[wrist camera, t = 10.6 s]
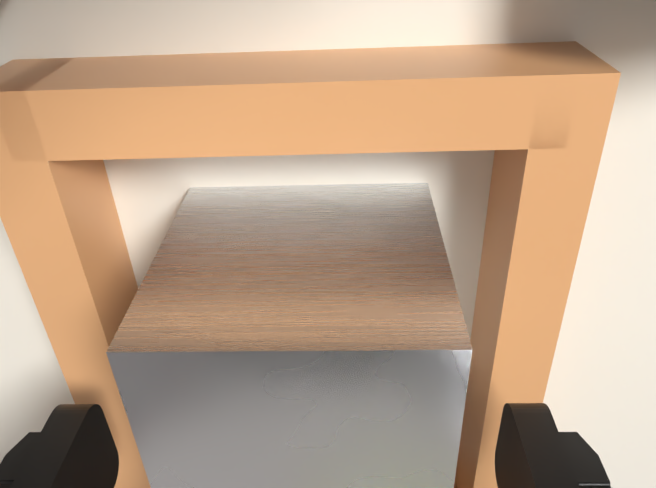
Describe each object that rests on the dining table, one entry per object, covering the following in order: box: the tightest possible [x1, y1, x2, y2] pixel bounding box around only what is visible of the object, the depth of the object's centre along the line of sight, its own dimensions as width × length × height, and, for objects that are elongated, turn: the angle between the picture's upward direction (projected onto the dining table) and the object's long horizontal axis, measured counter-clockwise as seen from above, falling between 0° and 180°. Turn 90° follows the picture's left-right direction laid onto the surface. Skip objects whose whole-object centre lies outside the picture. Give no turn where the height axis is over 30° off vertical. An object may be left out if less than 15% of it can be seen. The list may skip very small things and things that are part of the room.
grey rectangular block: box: [106, 183, 472, 488], centre depth 12 cm, size 5×8×5 cm, turn 2°
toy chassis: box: [0, 0, 656, 488], centre depth 13 cm, size 22×20×5 cm
